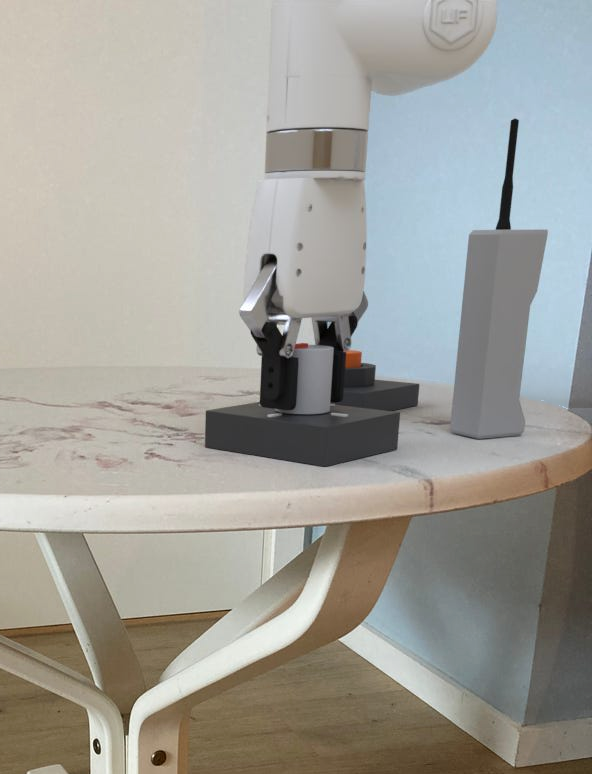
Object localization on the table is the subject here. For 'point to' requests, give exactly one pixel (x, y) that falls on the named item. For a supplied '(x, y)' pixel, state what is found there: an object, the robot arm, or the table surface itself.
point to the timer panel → (303, 433)
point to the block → (376, 390)
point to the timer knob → (313, 379)
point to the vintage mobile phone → (496, 321)
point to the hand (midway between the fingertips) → (301, 402)
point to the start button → (353, 358)
